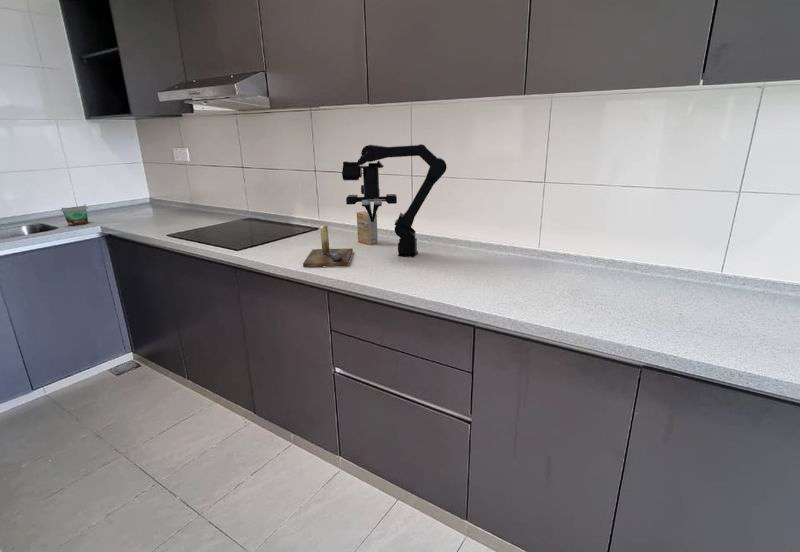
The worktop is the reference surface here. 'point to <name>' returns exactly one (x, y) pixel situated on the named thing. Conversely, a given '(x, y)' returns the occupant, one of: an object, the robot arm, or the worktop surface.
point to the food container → (76, 215)
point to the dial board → (327, 258)
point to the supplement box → (366, 228)
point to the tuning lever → (325, 244)
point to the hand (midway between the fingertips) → (372, 221)
